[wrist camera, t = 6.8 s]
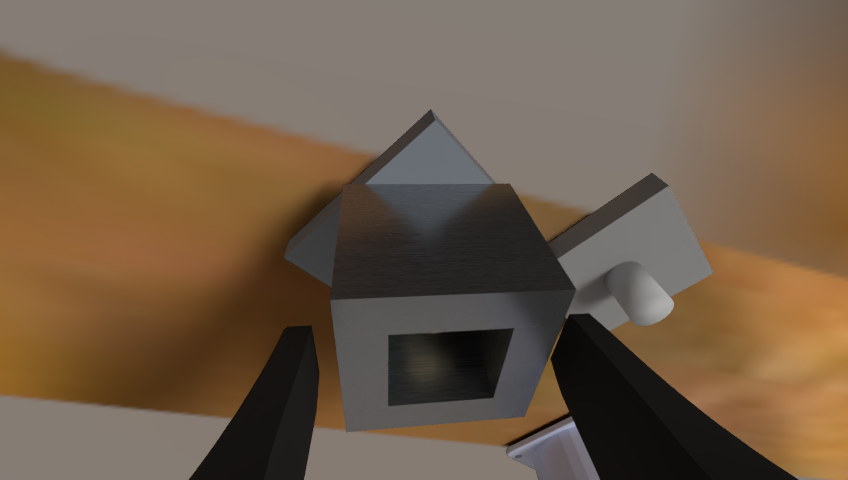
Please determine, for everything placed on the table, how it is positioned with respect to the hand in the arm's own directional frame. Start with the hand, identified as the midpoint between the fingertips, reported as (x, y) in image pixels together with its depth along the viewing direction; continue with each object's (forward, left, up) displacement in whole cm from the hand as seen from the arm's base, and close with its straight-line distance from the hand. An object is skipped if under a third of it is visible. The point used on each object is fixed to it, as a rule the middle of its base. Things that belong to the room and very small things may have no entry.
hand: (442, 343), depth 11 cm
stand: (-7, -5, -5) cm, 10 cm away
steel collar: (0, 0, -4) cm, 4 cm away
